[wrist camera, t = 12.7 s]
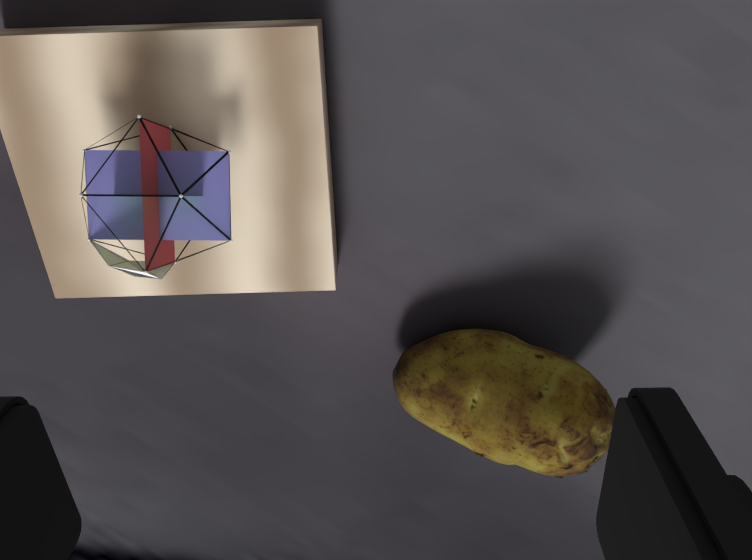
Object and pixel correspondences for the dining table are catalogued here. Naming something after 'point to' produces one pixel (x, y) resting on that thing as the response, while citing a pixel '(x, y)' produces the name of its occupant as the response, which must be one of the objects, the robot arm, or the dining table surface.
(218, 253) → the birch platform
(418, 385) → the potato
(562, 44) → the dining table surface
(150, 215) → the geometric puzzle
